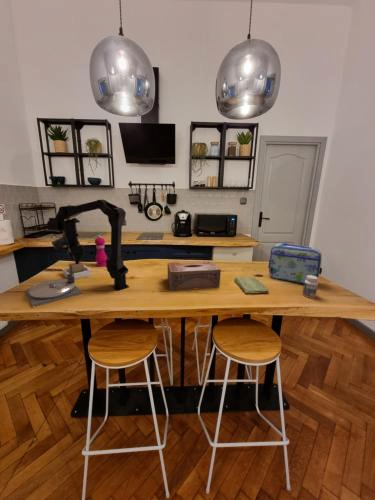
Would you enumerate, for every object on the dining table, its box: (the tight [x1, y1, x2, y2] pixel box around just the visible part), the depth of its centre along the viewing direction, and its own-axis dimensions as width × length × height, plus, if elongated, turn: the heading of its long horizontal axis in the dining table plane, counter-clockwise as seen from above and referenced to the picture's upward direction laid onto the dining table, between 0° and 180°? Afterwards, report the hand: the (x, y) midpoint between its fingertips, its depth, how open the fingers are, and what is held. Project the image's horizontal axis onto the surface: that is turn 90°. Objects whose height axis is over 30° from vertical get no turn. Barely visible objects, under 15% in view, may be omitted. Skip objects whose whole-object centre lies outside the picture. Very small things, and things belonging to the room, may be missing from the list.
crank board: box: [25, 284, 83, 307], centre depth 100 cm, size 19×19×1 cm
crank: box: [29, 273, 76, 299], centre depth 99 cm, size 18×18×6 cm
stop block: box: [68, 261, 85, 274], centre depth 121 cm, size 6×6×6 cm
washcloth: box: [234, 276, 269, 295], centre depth 112 cm, size 13×18×3 cm
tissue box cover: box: [167, 260, 222, 291], centre depth 114 cm, size 26×14×10 cm, turn 101°
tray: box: [62, 264, 93, 280], centre depth 122 cm, size 12×12×3 cm
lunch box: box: [267, 242, 322, 285], centre depth 120 cm, size 26×11×21 cm, turn 57°
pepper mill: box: [94, 235, 108, 268], centre depth 136 cm, size 7×7×20 cm
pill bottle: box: [302, 275, 319, 299], centre depth 103 cm, size 6×6×10 cm
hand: (74, 261), depth 108 cm, fingers open, 9 cm apart
